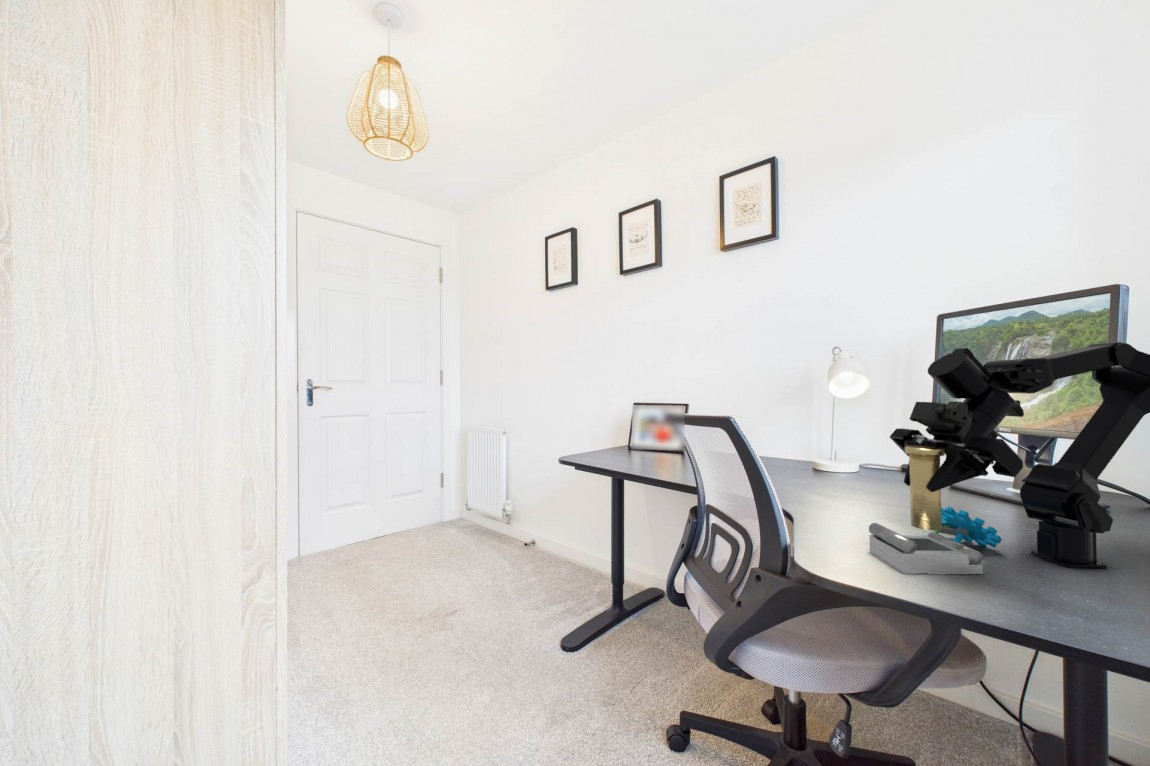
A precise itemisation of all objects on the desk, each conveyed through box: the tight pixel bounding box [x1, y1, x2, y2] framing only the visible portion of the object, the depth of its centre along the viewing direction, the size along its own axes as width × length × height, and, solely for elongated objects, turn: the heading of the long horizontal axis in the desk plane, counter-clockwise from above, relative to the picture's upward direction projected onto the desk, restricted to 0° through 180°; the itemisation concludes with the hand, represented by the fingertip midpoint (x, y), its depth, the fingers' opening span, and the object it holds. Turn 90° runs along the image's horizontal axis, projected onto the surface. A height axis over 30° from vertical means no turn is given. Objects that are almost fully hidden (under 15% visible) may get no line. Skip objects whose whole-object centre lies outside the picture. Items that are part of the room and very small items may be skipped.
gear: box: [933, 506, 1003, 548], centre depth 83 cm, size 11×6×10 cm
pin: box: [904, 446, 946, 532], centre depth 73 cm, size 5×5×13 cm
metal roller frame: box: [868, 522, 984, 575], centre depth 75 cm, size 12×9×5 cm
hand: (917, 486), depth 73 cm, fingers closed on pin, 4 cm apart
